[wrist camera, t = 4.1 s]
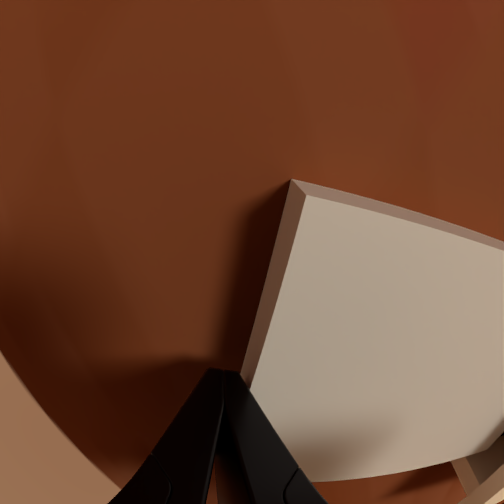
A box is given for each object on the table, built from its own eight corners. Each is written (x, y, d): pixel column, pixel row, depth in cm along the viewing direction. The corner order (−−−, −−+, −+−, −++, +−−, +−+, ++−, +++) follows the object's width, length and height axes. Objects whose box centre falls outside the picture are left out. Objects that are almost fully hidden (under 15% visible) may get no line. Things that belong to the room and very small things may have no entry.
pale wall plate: (472, 425, 13) (487, 449, 11) (220, 438, 11) (219, 479, 9) (567, 266, 9) (594, 286, 7) (288, 176, 7) (306, 195, 6)
